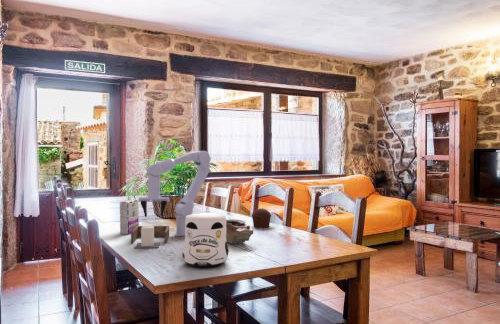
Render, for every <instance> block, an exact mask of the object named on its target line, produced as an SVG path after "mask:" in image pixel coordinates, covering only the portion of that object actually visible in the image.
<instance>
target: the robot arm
mask: <svg viewBox="0 0 500 324" xmlns="http://www.w3.org/2000/svg"><path fill="white" fill-rule="evenodd" d="M211 160H212V158H211V156H210V153H209V152H208V151H206V150H195V151H189V152H187V153H185V154H182V155H180V156H178V157H176V158H171V157H169V158H168V157H165V158H164V159H163V160H161V161H156V162H155V163H152V164H149V165H148V166H147V168H146V173H147V175H148V178H147V196H145V197H142V196H140V197H138V203H140V205H141V206H140V207H141V208H142V210H143V213H144V217H145V218H146V217H147V216H148V211H147V209H148V208H147V207H148V202H149V203H150V202H151V203H152V202H154V203H155V202H159V203H160V202H161V203H160V204H161V205H160V206H161V207H160V208H161V211H160V217H161V218H162V217H164V213H165V212H164V211H165V208H166V205H167V204H168V203H169V202H170V197H167V196H166V197H165V196H161V175H162V174H164V173H166V172H169V171H172V170H174V169H175V168H176V166H178V165H181V164H183V163H186V162H190V161H191V162H193V163H194V164H195V165H196V168H197V170H198V171H197V172H196V175H194V178H193V180H192V182H191V183H190V185H189V186H188V189H187V191H186V193H185V195H184V196H183V198H182V199H181V198H180V200H179V202H178V203H177V204H175V206H174V211H175V213H176V216H175V217H176V220H175V221H176V222H175V223H176V224H175V225H176V226H175V228H176V229H175V230H176V231H175V234H174V236H175V237H185V219H186V216H187V215H191V214H193V210H194V207H195V200H196V198H197V196H198V194H199V192H200V190H201V188H202V187H203V184H204V182H205V181H206V179H207V177H208V175H209V172H210V168H211V167H210V164H211Z"/></svg>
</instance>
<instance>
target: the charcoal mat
mask: <svg viewBox="0 0 500 324" xmlns="http://www.w3.org/2000/svg"><path fill="white" fill-rule="evenodd" d="M160 245H161V242H156V241H154V245H153V246H141V242H137V243H136V245H135V246H134V249H136V250H137V249H140V250H141V249H144V250H145V249H159V247H160Z"/></svg>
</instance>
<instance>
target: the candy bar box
mask: <svg viewBox="0 0 500 324" xmlns="http://www.w3.org/2000/svg"><path fill="white" fill-rule="evenodd" d="M138 201H139V199H127V200H124V201H121V202H119V228H120V229H119V230H120V231H119V233H120V235H131V232H132V231H133V230H134V229H135V227H136V226H140V224H139V222H140V221H139V220H140V219H139V202H138Z"/></svg>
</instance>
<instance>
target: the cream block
mask: <svg viewBox="0 0 500 324" xmlns="http://www.w3.org/2000/svg"><path fill="white" fill-rule="evenodd" d="M141 226H142V228H141V237H140V240H141V241H140V243H141V246H153V245H154V242H155V236H154V226H155V225H141Z"/></svg>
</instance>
